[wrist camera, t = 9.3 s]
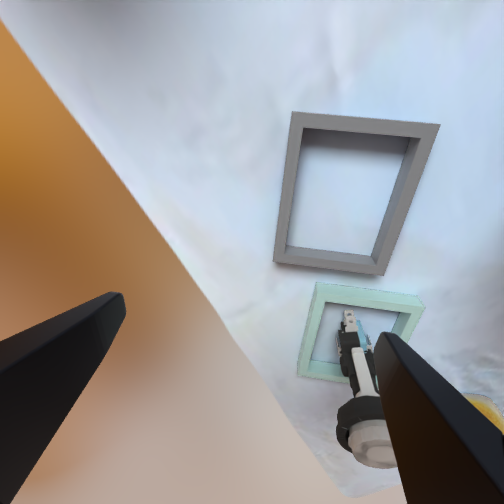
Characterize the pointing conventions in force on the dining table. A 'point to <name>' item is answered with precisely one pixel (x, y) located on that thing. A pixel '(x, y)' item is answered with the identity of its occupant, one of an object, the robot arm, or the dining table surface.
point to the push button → (362, 401)
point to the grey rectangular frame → (398, 203)
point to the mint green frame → (384, 300)
